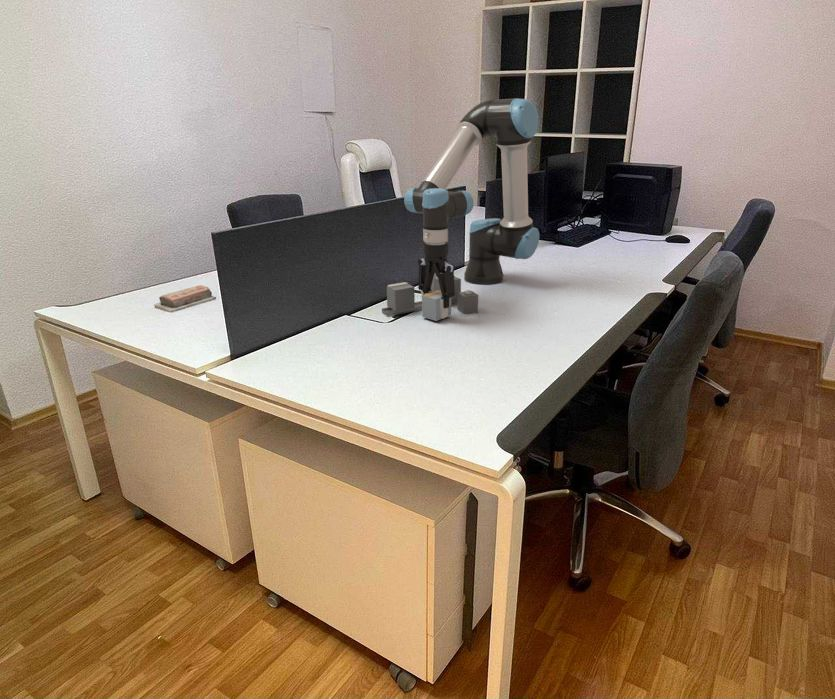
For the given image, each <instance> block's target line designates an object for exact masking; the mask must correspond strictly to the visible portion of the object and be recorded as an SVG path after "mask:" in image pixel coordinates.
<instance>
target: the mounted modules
mask: <svg viewBox="0 0 835 699" xmlns="http://www.w3.org/2000/svg"><path fill="white" fill-rule="evenodd" d="M454 288H455V296H453V297H451V301H452V300H458V292H462V278H460V277H457V276H455V275H454ZM437 290H439V291H441V289H440V285H439V281H438V277H435V278H434V291H437ZM415 302H416V299H415V286H413V285H411V284H409V283H408V282H406V281H405V282H397V283H391V284H387V285H386V305H387V306H386V307H389V308H391V309H393V310H394V311H400V310H405V309H410V308H415Z"/></svg>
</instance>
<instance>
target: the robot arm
mask: <svg viewBox="0 0 835 699" xmlns="http://www.w3.org/2000/svg"><path fill="white" fill-rule="evenodd" d="M538 127H539V114H538V110H537V108H536V105H535V104H534V103H533V101H531V100H530V99H526V98H518V97H517V98H505V99H504V98H503V99H502V98H500V99H494V98H493V99H492V98H491V99H487V100H484V101H482V102H480V103H478V104H476V105H474V107H473V108H472V109H471V108H470V110H469V111H468V112H467V113H466V114H465V115H464V116H463V117H462V118H461V120H460V121H459V123H458V124H457V125H456V128H455V131H456V132H455V134H454V135H453V136H452V138H451V139H450V141H449V142H448V144H447V145H446V146H445V148H444V149H443V152H442V153H441V154H440V155H439V157H438V158H437V160H436V161H435V163H434V164H433V166H432V167H431V168H430V170H429V171H428V173H427V174H426V176H425V177H424V179H423V180H422V182H421V183H420V184H419V185H418V187H414V188H410V189H408V190H406V191H405V192H406V193H405V194H404V198H403V199H404V200H403V201H404V202H403V203H404V206H405V208H406V210H407V211H409V212H410V213H415V214H422V223H423V224H422V232H423V233H422V235H423V236H422V237H423V238H422V239H423V252H422V253H423V255H424V257H423V258H420V259H417V264H418V265H417V266H418V281H417V282H418V285H417V288H418V290H419V291H421V290H422V292H423V295H425V294H428V293H431V292H429V291H432V290H431V285H432V281H433V277H434V274H435V273H436V277H438V281H439V285H440V289H441V294H442V297H441V298H440V318H441V319H440V320H443V319H445V318H448V317H449V316H448V308H449V298H450V297H453V296H455V288H454V276H455V270H456V269H455V268H456V265H455V264H450V263H448V258H447V257H448V255H449V243H448V242H449V220H451V219H452V220H453V219H456V218H461V217H464V216H467V215H468V214H470V213H471V212H472V211H473V208H474V197H473V196H472V194H471V193H470V192H468V190H457V191H449V190H448V189H447V187H448V186H449V185H450V183H451V181H452V180H453V179H454V177H455V175H456V174H457V172H458V171H459V170H460V168H461V167H462V165H463V164H464V163H465V161H466V159H468V157H469V155H470V154H471V152H472V151H473V149H474V148H475V146H479V144H481V142H482V141H483V140H484V139H486V138H490V137H491V138H495V144H496V146H497V147H498V148H499V149H500V152H501V154H500V155H501V156H500V157H501V158H500V159H501V160H500V161H501V177H502V178H501V181H502V182H501V183H502V202H503V203H502V204H503V205H502V206H503V218H483V219H478V220H474V221H472V222H471V223H470V226H469V233H468V234H469V246H468V247H469V250H468V251H469V254H468V256H469V257H468V258H469V259H468V262H467V265H466V268H465V271H464V276H463V279H464V281H465V282H468V283H471V284H476V285H494V284H498V283H501V282H503V280H504V273H503V269H502V265H501V261H500V256H501V257H506V258H513V259H516V260H521V259H522V260H528V259H530V258H531V257H532V256H533V255H534V254H535V252H536V251H537V248H538V245H539V242H540V231H539V228H537V227H535V226H534V224H533V219H532V218H531V217H530V216H529V193H528V192H529V190H528V189H529V188H528V187H529V186H528V182H529V180H528V146H529V145H530V144H531V143H532V138H533V137H534V136H535V135H536V134H537V131H538ZM440 273H441V274H440Z"/></svg>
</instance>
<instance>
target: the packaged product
mask: <svg viewBox="0 0 835 699" xmlns="http://www.w3.org/2000/svg"><path fill="white" fill-rule="evenodd" d="M212 293H213V292H212V291H211V289H210V288H209V287H208V286H204V285H196V286H193V287H188V288H184V289H181V290H178V291H174V292H170V293H167V294H166V293H165V294H163V295H161V296H159V297H158V298H159V302H158V303H153V306H154V308H155V309H158V310H161V311H164V312H168V313H174V312H178V311H180V310H185V309H187V308H191V307H195V306H197V305H201V304H204V303H206V302H210V301H213V300H217V297H216V296H214V295H213V294H212Z"/></svg>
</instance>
